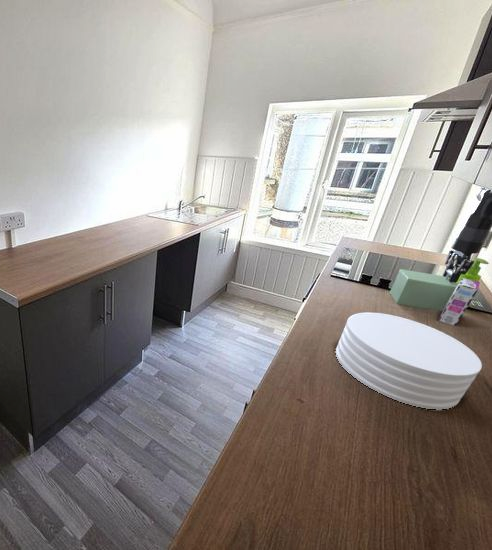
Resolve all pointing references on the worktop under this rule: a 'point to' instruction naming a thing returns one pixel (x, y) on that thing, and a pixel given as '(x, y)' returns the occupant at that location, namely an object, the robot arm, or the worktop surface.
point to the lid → (430, 278)
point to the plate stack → (407, 360)
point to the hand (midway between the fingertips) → (449, 279)
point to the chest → (420, 294)
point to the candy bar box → (459, 301)
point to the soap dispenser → (473, 271)
